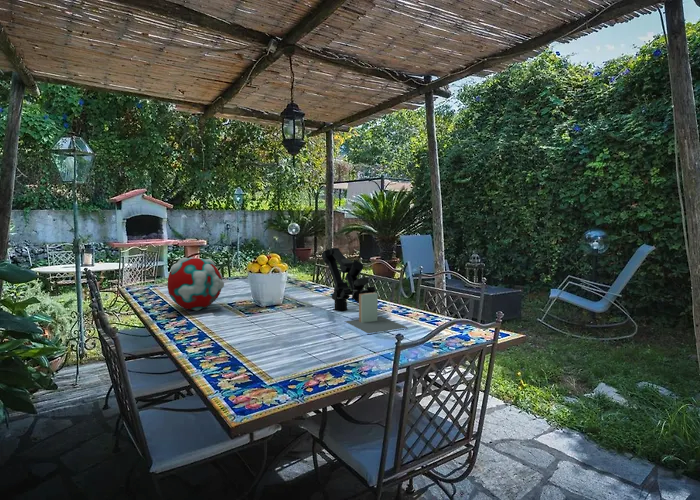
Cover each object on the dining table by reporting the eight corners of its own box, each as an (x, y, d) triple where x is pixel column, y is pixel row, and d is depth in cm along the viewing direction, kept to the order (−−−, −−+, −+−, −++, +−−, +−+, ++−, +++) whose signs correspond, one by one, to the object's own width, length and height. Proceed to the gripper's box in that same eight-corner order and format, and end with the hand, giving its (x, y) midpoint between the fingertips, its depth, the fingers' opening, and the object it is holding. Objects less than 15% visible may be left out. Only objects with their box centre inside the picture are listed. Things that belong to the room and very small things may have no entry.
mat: (344, 322, 209) (344, 321, 209) (381, 318, 219) (381, 316, 219) (368, 335, 188) (368, 333, 187) (408, 329, 198) (408, 327, 198)
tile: (359, 321, 209) (359, 293, 207) (374, 319, 213) (374, 292, 212) (361, 322, 206) (362, 295, 205) (377, 320, 210) (377, 293, 209)
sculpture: (167, 306, 246) (165, 256, 244) (220, 301, 259) (219, 254, 257) (169, 318, 218) (167, 261, 215) (228, 312, 230) (227, 259, 228)
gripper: (342, 273, 212) (352, 298, 203) (374, 271, 221) (384, 295, 212) (336, 286, 220) (345, 311, 211) (366, 283, 228) (376, 307, 219)
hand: (363, 305), depth 213 cm, fingers closed
